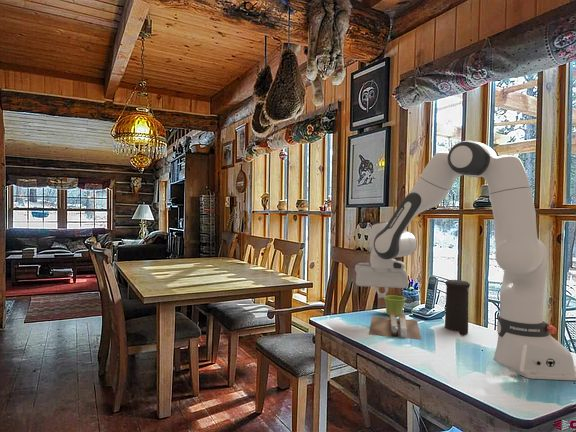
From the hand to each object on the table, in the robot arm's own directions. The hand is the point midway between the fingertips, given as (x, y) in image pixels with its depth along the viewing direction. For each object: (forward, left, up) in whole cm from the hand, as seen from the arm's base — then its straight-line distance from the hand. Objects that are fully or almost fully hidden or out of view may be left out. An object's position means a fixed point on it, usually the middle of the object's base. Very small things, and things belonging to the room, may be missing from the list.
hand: (381, 298), depth 151 cm
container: (-28, -4, -12) cm, 31 cm away
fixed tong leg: (-8, +4, -10) cm, 13 cm away
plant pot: (-5, -18, -12) cm, 22 cm away
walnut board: (-5, +2, -12) cm, 13 cm away
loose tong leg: (-5, +4, -10) cm, 12 cm away
